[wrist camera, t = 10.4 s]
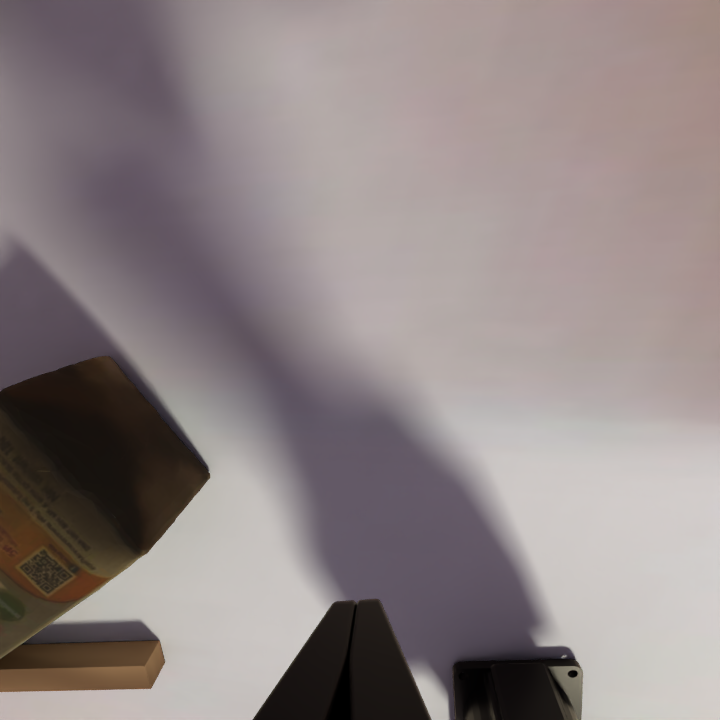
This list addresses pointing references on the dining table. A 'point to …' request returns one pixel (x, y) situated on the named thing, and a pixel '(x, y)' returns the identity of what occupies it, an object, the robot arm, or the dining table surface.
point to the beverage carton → (80, 489)
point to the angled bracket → (81, 666)
